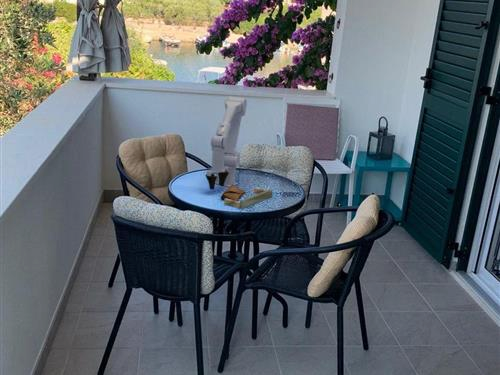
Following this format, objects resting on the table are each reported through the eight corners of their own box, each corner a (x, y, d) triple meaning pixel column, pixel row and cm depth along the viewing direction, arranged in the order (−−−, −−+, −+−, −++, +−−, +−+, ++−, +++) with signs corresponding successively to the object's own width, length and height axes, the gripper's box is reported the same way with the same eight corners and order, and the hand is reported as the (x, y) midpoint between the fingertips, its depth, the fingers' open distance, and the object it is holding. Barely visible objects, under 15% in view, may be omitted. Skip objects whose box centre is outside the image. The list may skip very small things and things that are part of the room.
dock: (224, 204, 259) (224, 196, 258) (254, 192, 280) (255, 185, 279) (242, 209, 254) (242, 201, 253) (272, 196, 274) (272, 189, 273)
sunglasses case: (238, 202, 262) (231, 189, 261) (225, 208, 264) (218, 195, 263) (246, 192, 279) (240, 179, 278) (234, 197, 281) (228, 185, 280)
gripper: (215, 164, 264) (214, 192, 268) (233, 159, 276) (232, 186, 280) (203, 161, 268) (202, 189, 272) (222, 156, 279) (220, 183, 283)
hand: (216, 187), depth 276 cm, fingers open, 7 cm apart
